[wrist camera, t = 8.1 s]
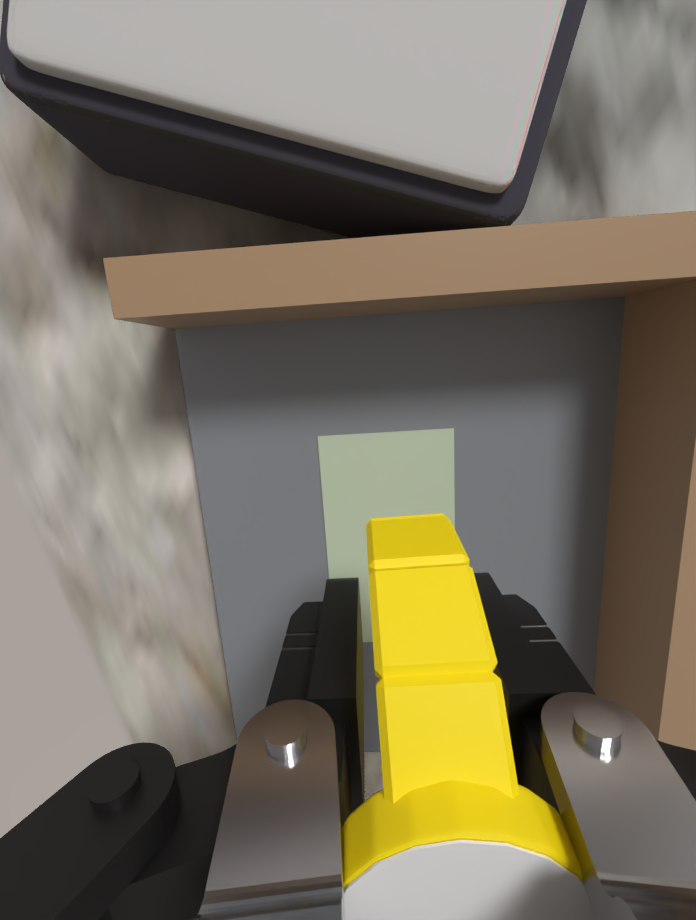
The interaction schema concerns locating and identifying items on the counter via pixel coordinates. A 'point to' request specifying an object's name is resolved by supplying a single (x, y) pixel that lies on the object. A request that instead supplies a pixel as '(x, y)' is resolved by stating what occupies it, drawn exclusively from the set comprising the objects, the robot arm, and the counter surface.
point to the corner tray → (449, 431)
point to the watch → (446, 755)
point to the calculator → (305, 101)
